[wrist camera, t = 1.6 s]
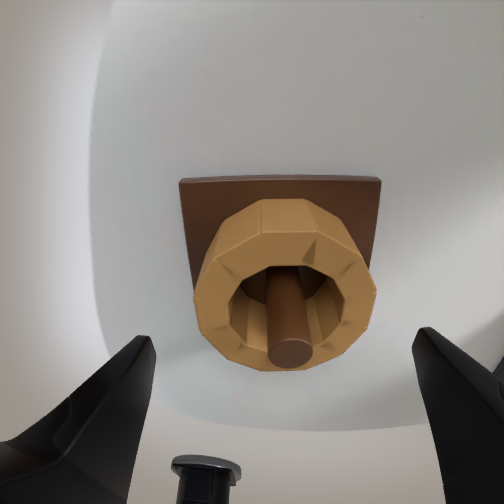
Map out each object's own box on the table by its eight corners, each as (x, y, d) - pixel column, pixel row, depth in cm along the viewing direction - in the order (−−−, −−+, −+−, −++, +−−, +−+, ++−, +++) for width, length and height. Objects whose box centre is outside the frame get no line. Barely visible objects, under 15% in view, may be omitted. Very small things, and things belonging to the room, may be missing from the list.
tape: (343, 321, 14) (356, 366, 12) (215, 324, 15) (207, 371, 12) (362, 198, 11) (390, 230, 9) (200, 200, 12) (182, 233, 9)
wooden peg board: (353, 324, 15) (378, 409, 10) (203, 328, 16) (185, 416, 11) (377, 176, 11) (446, 234, 7) (181, 178, 12) (129, 238, 7)
